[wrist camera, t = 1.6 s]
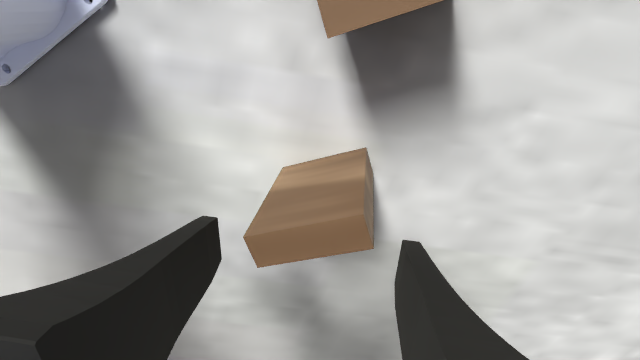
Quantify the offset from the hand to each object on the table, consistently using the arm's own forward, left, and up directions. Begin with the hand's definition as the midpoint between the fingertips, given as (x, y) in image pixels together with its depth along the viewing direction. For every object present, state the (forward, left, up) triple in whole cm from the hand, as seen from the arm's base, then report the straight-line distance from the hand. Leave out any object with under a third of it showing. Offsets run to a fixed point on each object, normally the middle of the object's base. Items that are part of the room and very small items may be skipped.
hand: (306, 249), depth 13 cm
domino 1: (0, 0, -7) cm, 7 cm away
